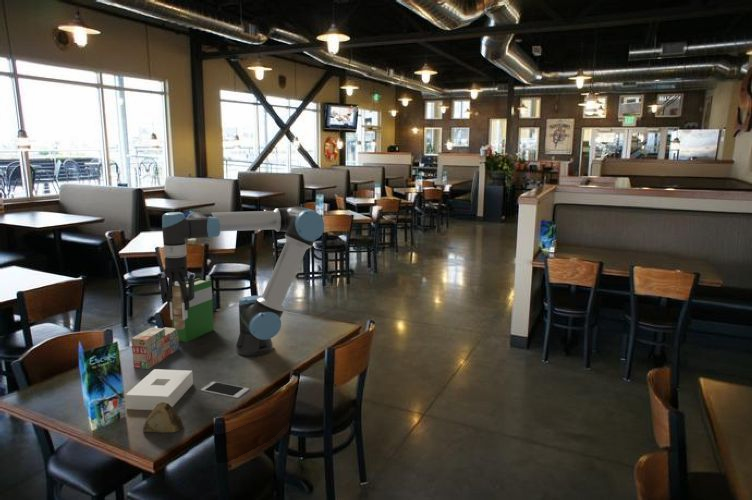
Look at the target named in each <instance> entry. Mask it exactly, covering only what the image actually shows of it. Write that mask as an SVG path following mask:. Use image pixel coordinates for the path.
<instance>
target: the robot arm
mask: <svg viewBox="0 0 752 500" xmlns="http://www.w3.org/2000/svg"><path fill="white" fill-rule="evenodd" d="M161 218H162V219H161V223H162V225H161V227H162V229H161V230H162V240H163V242H162V243H163V256H164V258H163V259H164V271H161V272H159V273H157V274H156V275H157V278H158V280H159V281H158V282H159V287H160V295H161V300H162V301H166V303H167V304H166V305H167V310H168V311H169V313H170V320H172V319H174V316H173V314H174V311H173V300H172V299H173V295H172V286H173V285H176V284H175V283H176V282H177V283H178V284H179V285H180V288H181V292H182V296H183V300H184V301H183V302H182V316H183V320H185V319H186V318H188V314H187V310H189V308H190V307H189V301H191V300H193V299H194V279H196V276H197V274H196V272H190V271H189V269H188V258H187V257H188V256H187V253H188V252H187V242H186V241H187V240H188V239H189V240H190V239H204V238H205V239H206V238H209V239H211V238H217V237H219V236H220V234H221V232H239V231H243V232H244V231H261V230H262V231H263V230H274V231H276V232H285V233H284V237H285V240H286V241H285V243H284V245H283V248H282V250H281V253H280V254H279V257H278V259H277V261H276V264H275V265H274V268H273V270H272V272H271V275H270V278H269V279H268V281H267V284H266V286H265V289H264V291H263V293H262V295H250V296H249V295H248V296H247V295H246V296H244V297H241V298H240V299H239V300H238V316H239V317H238V318H239V320H238V321H239V324H238V325H239V334H238V338H237V341H236V344H235V352H236V353H237V354H238V355H241V356H244V357H245V356H246V357H257V356H263V355H267V354H269V353H270V352H272V351H273V347H274V346H273V341H272V338H274V337H275V336H277V334H279V333H280V331H281V328H282V319H281V318H282V315H283V313H284V311H285V308H284V306H283V304H284V302H285V299H286V297H287V294H288V292H289V289H290V287H291V285H292V283H293V281H294V279H295V276H296V274H297V272H298V270H299V267H300V265H301V262H302V260H303V258H304V256H305V253H306V251H307V250H308V249H310V248H312V247H313V245H314V243H315V241H316V240H317V239H319V238H320V237H321V236H322V235H323V232H324V230H325V222H324V219H323V216H322V215H320V213H319V212H317V211H316V210H313V209H310V208H306V207H303V206H299V205H298V206H290V207H279V208H278V207H277V208H274V210H260V211H259V210H257V211H256V210H255V211H254V210H253V211H226V212H224V211H223V212H218V211H217V212H200V211H193V212H191V213H189V214H188V215H187V217H185V213H183V212H181V211H176V212H175V211H171V212H166V213H164V214H162V217H161ZM166 277H167V278H168V283H167V279H166ZM186 277H187V278H188V280H187V281H186ZM186 282H188V291H187V287H186ZM167 284H168V287H167Z"/></svg>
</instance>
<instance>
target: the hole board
mask: <svg viewBox="0 0 752 500" xmlns="http://www.w3.org/2000/svg"><path fill="white" fill-rule="evenodd" d="M193 375H194V374H193V370H187V369H186V370H181V369H160V368H157V369H156V368H154V369H153V370H152V371H150V372H149V373H148V374H147V375H146V376H145V377H143V379H141V380H140V381H139V382H137V384H136V385H135V386H133V388H131V389H130V390H128V392H127V393H126V394H125V406H126V407H125V408H126V410H139V411H153V409H154V408H155V407H156V405H157V404H159V403H161V402H165V403H168V404H169V405H170V406H171V407H172V408H174V406H175V404H177V402H178V401H180V399H181V398H182V397H183V396H184V394H186V392H187V391H188V390H189V389H190V388H191V387H192V386H193V385H194V381H193V380H194V379H193V378H194V376H193Z"/></svg>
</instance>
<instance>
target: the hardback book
mask: <svg viewBox="0 0 752 500" xmlns="http://www.w3.org/2000/svg"><path fill="white" fill-rule="evenodd" d="M212 283H213V282H212V279H208V280H202V279H201V278H200V277H197V278H195V279H194V299H193V300H191V301H189V307H190V308H189V310H187V314H188V318H186V319H185V328H184V329H178V339H179V342H183V343H187V342H191V341H192V340H195V339H197V338H198V337H201V336H203V335H206V334H208V333H210V332H212V331H214V313H213V312H214V309H213V288H212V286H213V285H212ZM186 287H187V291H188V281H186ZM172 300H173V299H172ZM183 301H184V300H183ZM171 328H174V319H171ZM205 333H206V334H205Z"/></svg>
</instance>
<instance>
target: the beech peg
mask: <svg viewBox="0 0 752 500" xmlns="http://www.w3.org/2000/svg"><path fill="white" fill-rule="evenodd" d="M172 295H173V311H174V314H173V316H174V328H175V329H184V328H185V320H183V316H182V302H183V296H182V292H181V288H180V285H179V283H178V284H175V285H173V286H172Z"/></svg>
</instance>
